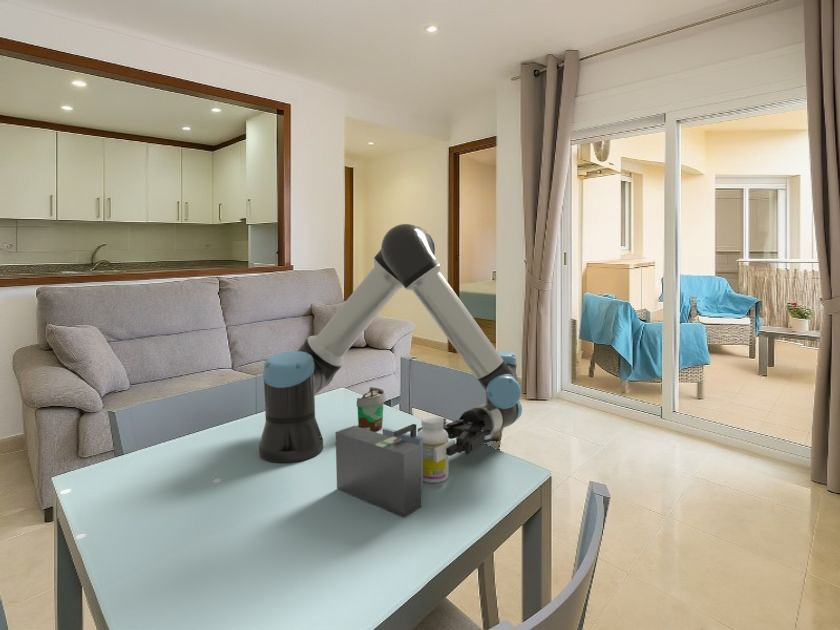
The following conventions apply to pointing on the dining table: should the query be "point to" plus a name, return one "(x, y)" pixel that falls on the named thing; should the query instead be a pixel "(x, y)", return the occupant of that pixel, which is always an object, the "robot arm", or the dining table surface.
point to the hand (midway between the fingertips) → (421, 451)
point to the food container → (371, 409)
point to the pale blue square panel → (407, 439)
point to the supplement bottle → (431, 440)
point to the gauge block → (379, 469)
